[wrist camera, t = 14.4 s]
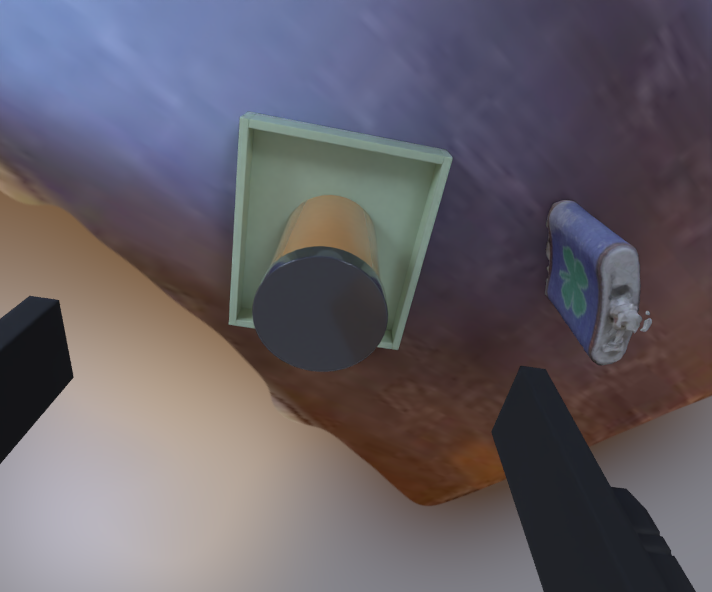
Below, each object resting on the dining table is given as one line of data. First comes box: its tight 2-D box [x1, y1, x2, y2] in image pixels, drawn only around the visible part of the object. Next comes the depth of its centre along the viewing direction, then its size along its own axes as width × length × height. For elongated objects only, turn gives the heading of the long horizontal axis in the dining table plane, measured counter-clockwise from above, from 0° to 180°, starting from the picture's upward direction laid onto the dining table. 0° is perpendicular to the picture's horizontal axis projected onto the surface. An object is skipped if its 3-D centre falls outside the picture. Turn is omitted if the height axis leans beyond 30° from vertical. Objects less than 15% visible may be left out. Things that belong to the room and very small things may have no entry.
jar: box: [252, 195, 388, 372], centre depth 30 cm, size 8×8×12 cm
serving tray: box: [229, 112, 453, 350], centre depth 34 cm, size 14×16×2 cm
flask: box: [545, 200, 652, 365], centre depth 32 cm, size 9×3×11 cm, turn 10°
